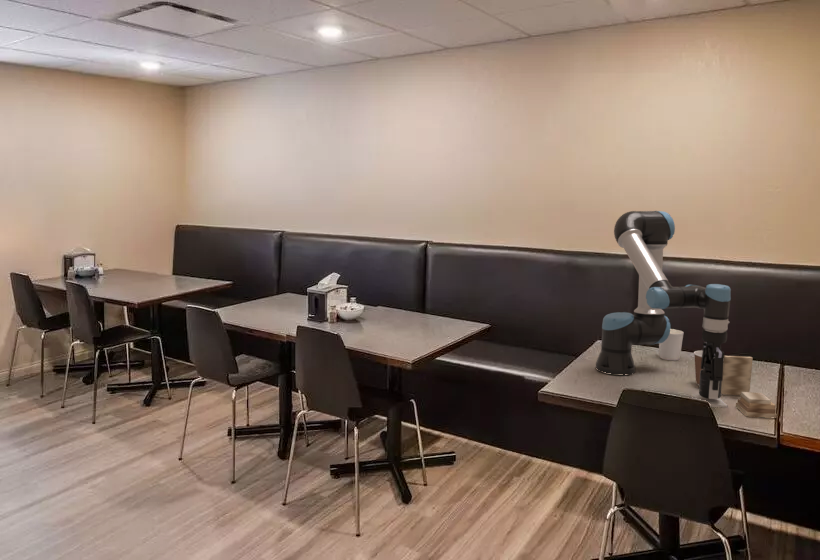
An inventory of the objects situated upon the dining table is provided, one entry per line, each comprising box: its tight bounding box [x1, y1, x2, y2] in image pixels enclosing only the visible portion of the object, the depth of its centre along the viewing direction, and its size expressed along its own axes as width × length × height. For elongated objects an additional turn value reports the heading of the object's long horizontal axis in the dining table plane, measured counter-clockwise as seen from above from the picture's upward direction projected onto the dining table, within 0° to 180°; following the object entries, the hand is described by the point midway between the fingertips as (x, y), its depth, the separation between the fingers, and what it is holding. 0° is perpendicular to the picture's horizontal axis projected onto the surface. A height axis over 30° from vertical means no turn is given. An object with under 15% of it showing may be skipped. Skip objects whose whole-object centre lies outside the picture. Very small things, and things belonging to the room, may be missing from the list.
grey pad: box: [690, 394, 729, 409], centre depth 201 cm, size 9×9×1 cm
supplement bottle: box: [698, 361, 722, 399], centre depth 200 cm, size 7×7×12 cm
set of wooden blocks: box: [721, 355, 778, 419], centre depth 197 cm, size 9×23×14 cm, turn 171°
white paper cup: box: [658, 328, 684, 361], centre depth 254 cm, size 10×10×12 cm
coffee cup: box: [693, 350, 703, 386], centre depth 218 cm, size 10×10×12 cm
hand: (709, 394), depth 200 cm, fingers closed on supplement bottle, 7 cm apart
